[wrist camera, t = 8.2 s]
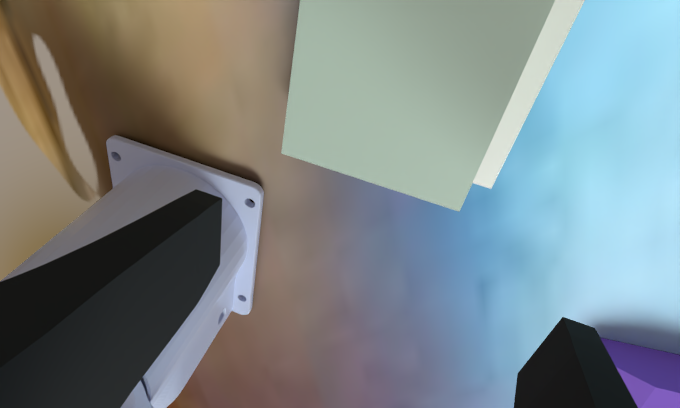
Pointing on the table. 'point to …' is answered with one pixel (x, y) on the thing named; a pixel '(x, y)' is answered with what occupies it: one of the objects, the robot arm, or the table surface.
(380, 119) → the housing
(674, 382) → the bracket
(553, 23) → the stub plate
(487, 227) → the table surface
